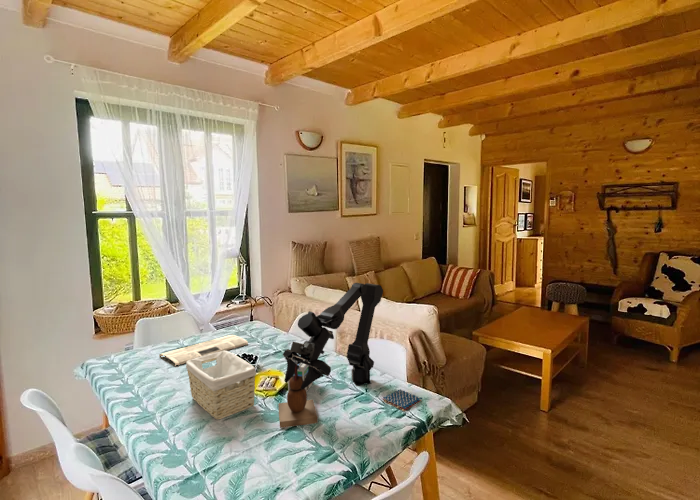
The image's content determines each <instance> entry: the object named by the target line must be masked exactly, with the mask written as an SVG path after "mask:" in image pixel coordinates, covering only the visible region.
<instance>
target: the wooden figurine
mask: <svg viewBox="0 0 700 500" xmlns="http://www.w3.org/2000/svg"><path fill="white" fill-rule="evenodd" d="M302 383H303V378H302V377H301V376H298V372H297V364H296V367H295V376H293V377H291V378H290V381H289V387H290V388H291V389H290V390H289V392H287V395H286V402H287V403H288V406H289V408H290V410H291V411H292V412H300V411H302V410H303V409H304V408H305V405H306V402H307V400H308V391H307V392H306V390H305V388H304V389H303V390H302V389H301V385H302Z"/></svg>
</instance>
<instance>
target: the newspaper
mask: <svg viewBox="0 0 700 500" xmlns="http://www.w3.org/2000/svg"><path fill="white" fill-rule="evenodd" d="M248 344H249V342H248V340H246V339H244V338H243V337H240V336H237V335H234V334H229V335H225V336H222V337H217V338H213V339H211V340H210V339H209V340H206V341H202V342H199V343H195V344H192V345H188V346H184V347H180V348H177V349H174V350H170V351H166V352H163V353H159V354H158V355H159V356H158V357H160V356H163V355H164V356H166V357H165V358H167V359H169V360H171V361H172V362H173V363H175V365H174V366H175V367H177V366H176V365H178V366H180V364H181V365H184V364H186V362H187V361H188V360H191V359H195V358H197V357H201V356H205V355H208V354H212V353H216V352H220V351H223V350H225V351H231V350H234V349H236V348H240V347H243V346H246V345H248Z"/></svg>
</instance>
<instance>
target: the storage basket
mask: <svg viewBox="0 0 700 500" xmlns="http://www.w3.org/2000/svg"><path fill="white" fill-rule="evenodd" d="M213 361H215V362H216V364H215V365H213V366H209V367H206V368H203V364H206V363H210V362H213ZM185 368H186V371H187V376H188V379H189V380H188V381H189V387H190V388H189V389H190V393H191V394H190V395H191V398H192V399H193V400H194V401H195V402H196V403H197V404H198V405H199V406H200V407H201V408H202V409H204V411H206V412H207V413H208V414H209V415H210V416H211V417H212V418H214V420H217V421H218V420H222V419H225V418H227V417H229V416H231V415H235V414H237V413H240V412H242V411H244V410H248V409H250V408H251V407H253V406H254V405H255V395H256V394H255V391H256V390H255V389H256V386H255V384H256V383H255V380H256V379H255V378H256V377H255V376H256V375H257V372H256V368H255V366H254V365H252V364H251V363H249V362H248V361H247V360H244V359H243V358H241V357H239V356H238V355H236V354H235V353H233V352H230V351H229V350H227V351H225V350H223V351H220V352H216V353H212V354H208V355H205V356H201V357H197V358H195V359H191V360H188V361H187V362H186V363H185Z"/></svg>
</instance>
